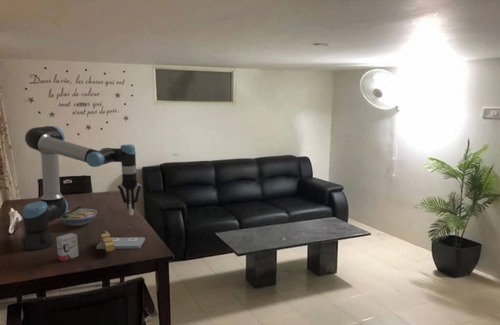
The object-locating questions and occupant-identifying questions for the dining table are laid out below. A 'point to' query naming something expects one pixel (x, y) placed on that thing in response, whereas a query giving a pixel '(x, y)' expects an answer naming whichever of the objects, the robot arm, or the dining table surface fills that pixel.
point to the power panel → (124, 243)
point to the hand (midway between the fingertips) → (131, 214)
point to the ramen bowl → (78, 216)
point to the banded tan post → (107, 241)
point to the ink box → (67, 246)
